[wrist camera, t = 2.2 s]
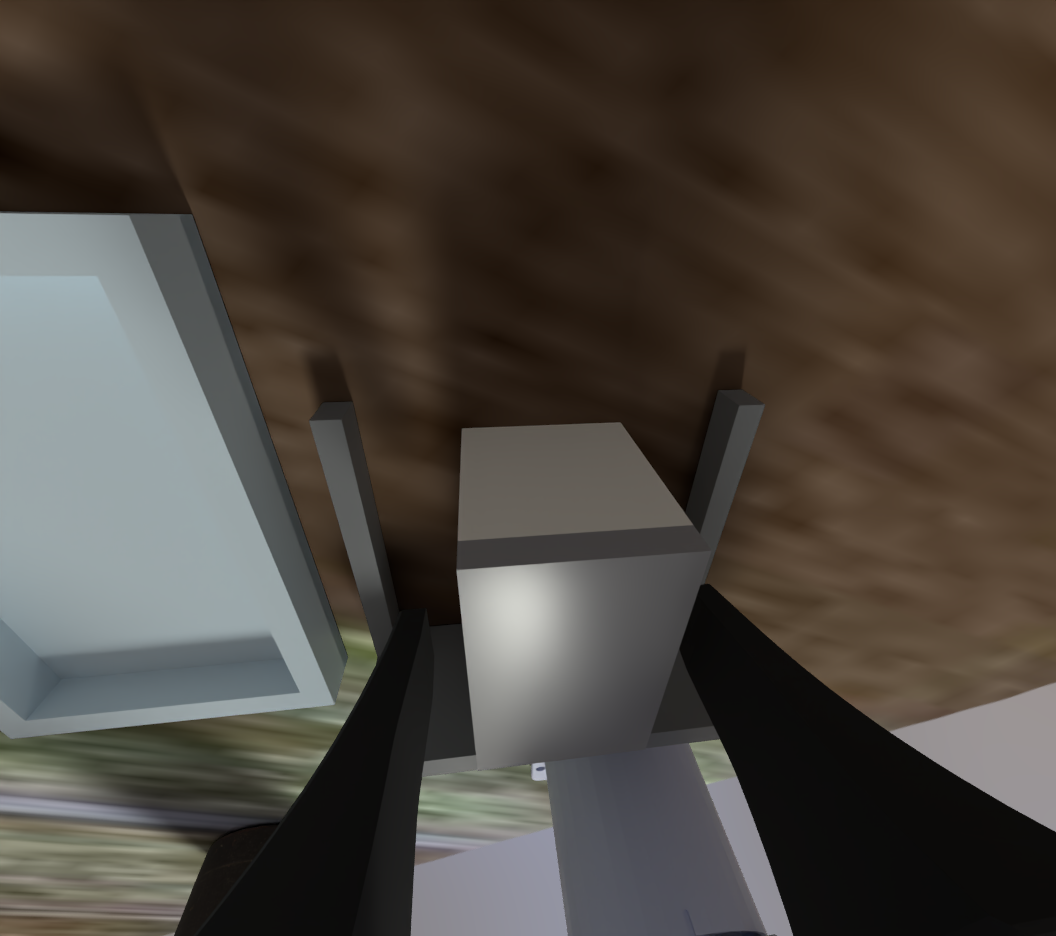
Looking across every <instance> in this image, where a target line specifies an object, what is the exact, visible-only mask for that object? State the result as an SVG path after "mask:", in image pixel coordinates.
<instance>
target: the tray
mask: <svg viewBox="0 0 1056 936" xmlns="http://www.w3.org/2000/svg"><path fill="white" fill-rule="evenodd" d="M347 658H348V656H347V653H346V651H345V648H344V645H343V642H342V639H341V636H340V633H339V631H338V628H337V625H336V622H335V619H334V616H333V614H332V611H331V608H330V605H329V602H328V599H327V597H326V594H325V591H324V588H323V585H322V582H321V579H320V577H319V574H318V571H317V568H316V565H315V562H314V560H313V557H312V554H311V551H310V548H309V545H308V543H307V540H306V537H305V534H304V531H303V528H302V525H301V523H300V520H299V517H298V514H297V511H296V508H295V506H294V503H293V500H292V497H291V494H290V491H289V488H288V486H287V483H286V480H285V477H284V474H283V471H282V469H281V466H280V463H279V460H278V457H277V454H276V452H275V449H274V446H273V443H272V440H271V437H270V434H269V432H268V429H267V426H266V423H265V420H264V417H263V415H262V412H261V409H260V406H259V403H258V400H257V398H256V395H255V392H254V389H253V386H252V383H251V380H250V378H249V375H248V372H247V369H246V366H245V363H244V361H243V358H242V355H241V352H240V349H239V346H238V343H237V341H236V338H235V335H234V332H233V329H232V326H231V324H230V321H229V318H228V315H227V312H226V309H225V307H224V304H223V301H222V298H221V295H220V292H219V289H218V287H217V284H216V281H215V278H214V275H213V272H212V270H211V267H210V264H209V261H208V258H207V255H206V253H205V250H204V247H203V244H202V241H201V238H200V235H199V233H198V230H197V227H196V224H195V221H194V218H193V216H192V214H141V213H75V212H10V211H0V731H1V732H3V733H4V734H5V735H7V736H8V737H9V738H10V739H16V738H25V737H35V736H44V735H54V734H63V733H72V732H82V731H91V730H101V729H110V728H120V727H129V726H138V725H148V724H157V723H167V722H176V721H186V720H195V719H204V718H214V717H223V716H233V715H242V714H252V713H261V712H270V711H280V710H289V709H299V708H308V707H318V706H327V705H335V702H336V698H337V695H338V691H339V688H340V684H341V680H342V677H343V673H344V669H345V666H346V662H347Z"/></svg>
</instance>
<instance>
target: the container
mask: <svg viewBox="0 0 1056 936" xmlns="http://www.w3.org/2000/svg"><path fill="white" fill-rule="evenodd" d="M277 827H278V825H269V826H259V827H252V828H247V829H243V830H239V831H236V832H233V833H231V834H228V835H226V836H224V837H222V838H220V839H218V840H217V841H216V842H215V843H214V844H213V845H212V846H211V847H210V849H209V851H208V853H207V855H206V858H205V860H204V862H203V865H202V867H201V869H200V872H199V874H198V877H197V879H196V882H195V884H194V886H193V889H192V892H191V894H190V897H189V899H188V902H187V904H186V907H185V910H184V912H183V915H182V917H181V920H180V922H179V925H178V927H177V930H176V932H175V935H174V936H193V935H194V934H195V933H196V932H197V931H198V929H199V928H200V927H201V926H202V924H203V923H204V922H205V921H206V919H207V918H208V917H209V916H210V914H211V913H212V912H213V911H214V909H215V908H216V907H217V906H218V904H219V903H220V902H221V900H222V899H223V898H224V897H225V895H226V894H227V893H228V891H229V890H230V889H231V887H232V886H233V885H234V884H235V882H236V881H237V880H238V878H239V877H240V876H241V875H242V873H243V872H244V871H245V869H246V868H247V867H248V865H249V864H250V863H251V862H252V860H253V859H254V858H255V856H256V855H257V854H258V853H259V851H260V850H261V848H262V847H263V846H264V844H265V843H266V842H267V840H268V839H269V838H270V836H271V835H272V833H273V832H274V831H275V829H276V828H277Z"/></svg>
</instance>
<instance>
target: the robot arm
mask: <svg viewBox="0 0 1056 936" xmlns="http://www.w3.org/2000/svg"><path fill="white" fill-rule="evenodd" d="M679 650H680V653H681V656H682V658H683V661H684V664H685V667H686V669H687V672H688V674H689V676H690V678H691V680H692V682H693V684H694V686H695V688H696V691H697V693H698V695H699V697H700V699H701V701H702V703H703V705H704V707H705V709H706V711H707V713H708V715H709V717H710V719H711V722H712V724H713V726H714V728H715V730H716V732H717V734H718V736H719V738H720V740H721V742H722V744H723V746H724V748H725V750H726V752H727V754H728V757H729V759H730V761H731V763H732V766H733V768H734V770H735V772H736V775H737V777H738V780H739V782H740V785H741V788H742V790H743V793H744V795H745V798H746V800H747V803H748V806H749V808H750V811H751V814H752V816H753V818H754V821H755V824H756V827H757V830H758V833H759V835H760V838H761V841H762V844H763V846H764V849H765V852H766V855H767V857H768V860H769V863H770V866H771V869H772V872H773V875H774V878H775V881H776V884H777V887H778V890H779V893H780V896H781V899H782V902H783V905H784V908H785V911H786V914H787V917H788V920H789V923H790V926H791V930H792V933H793V936H1056V832H1055V831H1053V830H1051V829H1049V828H1047V827H1045V826H1044V825H1041V824H1040V823H1038V822H1036V821H1034V820H1033V819H1031V818H1029V817H1027V816H1025V815H1023V814H1022V813H1020V812H1018V811H1016V810H1014V809H1012V808H1011V807H1009V806H1007V805H1005V804H1004V803H1002V802H1000V801H999V800H997V799H995V798H994V797H992V796H990V795H988V794H987V793H985V792H983V791H982V790H980V789H978V788H977V787H975V786H973V785H971V784H970V783H968V782H966V781H965V780H963V779H961V778H960V777H958V776H956V775H955V774H953V773H952V772H950V771H948V770H947V769H945V768H944V767H942V766H940V765H939V764H937V763H936V762H934V761H932V760H931V759H929V758H928V757H926V756H925V755H923V754H922V753H920V752H919V751H917V750H916V749H914V748H913V747H911V746H909V745H908V744H907V743H905V742H903V741H902V740H900V739H899V738H897V737H896V736H894V735H893V734H891V733H890V732H889V731H887V730H886V729H884V728H883V727H881V726H880V725H878V724H877V723H875V722H874V721H873V720H871V719H870V718H869V717H867V716H866V715H864V714H863V713H862V712H860V711H859V710H858V709H856V708H855V707H853V706H852V705H851V704H849V703H848V702H847V701H845V700H844V699H842V698H841V697H840V696H839V695H837V694H836V693H835V692H833V691H832V690H831V689H829V688H828V687H827V686H826V685H824V684H823V683H822V682H821V681H819V680H818V679H817V678H816V677H814V676H813V675H812V674H811V673H809V672H808V671H807V670H806V669H804V668H803V667H802V666H801V665H800V664H798V663H797V662H796V661H795V660H794V659H792V658H791V657H790V656H789V655H788V654H787V653H785V652H784V651H783V650H782V649H781V648H780V647H778V646H777V645H776V644H775V643H774V642H773V641H772V640H770V639H769V638H768V637H767V636H766V635H765V634H764V633H763V632H761V631H760V630H759V629H758V628H757V627H756V626H755V625H754V624H753V623H751V622H750V621H749V620H748V619H747V618H746V617H745V616H744V615H743V614H742V613H740V612H739V611H738V610H737V609H736V608H735V607H734V606H733V605H732V604H731V603H730V602H729V601H727V600H726V599H725V598H724V597H723V596H722V595H721V594H720V593H719V592H718V591H717V590H715V589H714V588H713V587H712V586H711V585H710V584H703V585H700V587H699V590H698V593H697V596H696V599H695V602H694V605H693V608H692V611H691V614H690V617H689V620H688V623H687V626H686V629H685V632H684V635H683V638H682V641H681V644H680V647H679ZM433 681H434V650H433V645H432V639H431V633H430V627H429V621H428V616H427V610H426V608H421V609H409V610H402V611H401V612H400V613H398V616H397V619H396V622H395V624H394V627H393V629H392V631H391V634H390V636H389V638H388V641H387V643H386V645H385V647H384V650H383V652H382V654H381V656H380V658H379V660H378V662H377V664H376V666H375V668H374V670H373V672H372V674H371V676H370V678H369V680H368V682H367V684H366V686H365V688H364V690H363V692H362V694H361V695H360V697H359V699H358V701H357V703H356V704H355V706H354V708H353V710H352V711H351V713H350V715H349V717H348V718H347V720H346V722H345V724H344V725H343V727H342V729H341V731H340V732H339V734H338V736H337V737H336V739H335V741H334V742H333V744H332V746H331V747H330V749H329V751H328V752H327V754H326V755H325V757H324V759H323V760H322V762H321V763H320V765H319V766H318V768H317V769H316V771H315V772H314V774H313V776H312V777H311V779H310V780H309V782H308V783H307V785H306V786H305V788H304V789H303V791H302V792H301V794H300V795H299V796H298V798H297V799H296V801H295V802H294V804H293V805H292V806H291V808H290V809H289V811H288V812H287V814H286V815H285V817H284V818H283V819H282V821H281V822H280V824H279V825H278V827H277V828H276V829H275V831H274V832H273V833H272V835H271V836H270V838H269V839H268V840H267V842H266V843H265V844H264V846H263V847H262V848H261V850H260V851H259V853H258V854H257V855H256V856H255V858H254V859H253V860H252V862H251V863H250V864H249V865H248V867H247V868H246V869H245V871H244V872H243V873H242V875H241V876H240V877H239V878H238V880H237V881H236V882H235V884H234V885H233V886H232V887H231V889H230V890H229V891H228V893H227V894H226V895H225V897H224V898H223V899H222V900H221V902H220V903H219V904H218V906H217V907H216V908H215V909H214V911H213V912H212V913H211V914H210V916H209V917H208V918H207V919H206V921H205V922H204V923H203V924H202V926H201V927H200V928H199V929H198V931H197V932H196V933H195V934H194V935H193V936H410V935H411V915H412V896H413V875H414V859H415V843H416V826H417V813H418V804H419V794H420V787H421V780H422V773H423V765H424V758H425V751H426V744H427V736H428V729H429V722H430V714H431V707H432V699H433ZM531 777H532V779H533V780H536V781H539V780H547V783H548V791H549V798H550V806H551V813H552V821H553V828H554V835H555V843H556V850H557V857H558V864H559V873H560V879H561V887H562V895H563V902H564V909H565V917H566V925H567V932H568V936H768V935H767V933H766V930H765V928H764V925H763V923H762V921H761V918H760V916H759V913H758V911H757V908H756V906H755V903H754V901H753V898H752V896H751V894H750V891H749V889H748V886H747V884H746V882H745V879H744V877H743V874H742V872H741V869H740V867H739V865H738V862H737V860H736V857H735V855H734V852H733V850H732V847H731V845H730V843H729V840H728V837H727V835H726V833H725V830H724V828H723V826H722V823H721V820H720V818H719V816H718V813H717V811H716V808H715V806H714V803H713V801H712V799H711V796H710V794H709V791H708V789H707V786H706V784H705V781H704V779H703V776H702V774H701V772H700V769H699V767H698V764H697V762H696V759H695V757H694V755H693V752H692V750H691V747H690V745H689V743H685V744H677V745H669V746H661V747H653V748H646V749H644V750H637V751H629V752H621V753H613V754H605V755H598V756H590V757H582V758H574V759H566V760H558V761H551V762H543V763H535V764H531ZM769 936H777V935H769Z"/></svg>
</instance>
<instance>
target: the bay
mask: <svg viewBox="0 0 1056 936" xmlns="http://www.w3.org/2000/svg"><path fill="white" fill-rule="evenodd" d="M764 407H765V404H763V403H762V402H760V401H759V400H757V399H756V398H754V397H753V396H751V395H750V394H748V393H747V392H745V391H744V390H718V393H717V397H716V401H715V404H714V408H713V412H712V415H711V419H710V423H709V426H708V430H707V434H706V438H705V441H704V445H703V449H702V452H701V456H700V460H699V463H698V467H697V471H696V474H695V478H694V482H693V486H692V489H691V493H690V497H689V500H688V504H687V508H686V511H685V514H686V515H687V517H688V518H689V520H690V521H691V522H692V524H693V525H694V527H695V528H696V530H697V531H698V532H699V534H700V535H701V537H702V538H703V539H704V541H705V542H706V544H707V545H708V546H709V548H710V549H711V554H710V557H709V560H708V563H707V566H706V569H705V572H704V575H703V578H702V581H701V584H700V585H703V584H704V583H705V580H706V577H707V574H708V571H709V568H710V566H711V563H712V560H713V557H714V554H715V551H716V548H717V545H718V542H719V539H720V536H721V533H722V530H723V527H724V524H725V521H726V518H727V516H728V513H729V510H730V507H731V504H732V501H733V498H734V495H735V492H736V489H737V486H738V483H739V480H740V477H741V474H742V471H743V468H744V466H745V463H746V460H747V457H748V454H749V451H750V448H751V445H752V442H753V439H754V436H755V433H756V430H757V427H758V424H759V421H760V418H761V416H762V413H763V410H764ZM309 422H310V426H311V429H312V433H313V436H314V439H315V443H316V446H317V450H318V453H319V457H320V460H321V464H322V467H323V470H324V474H325V477H326V481H327V484H328V488H329V491H330V495H331V498H332V502H333V505H334V508H335V512H336V515H337V519H338V522H339V526H340V529H341V533H342V536H343V540H344V543H345V546H346V550H347V553H348V557H349V560H350V564H351V567H352V571H353V574H354V578H355V581H356V584H357V588H358V591H359V595H360V598H361V602H362V605H363V609H364V612H365V615H366V619H367V622H368V626H369V629H370V633H371V636H372V640H373V643H374V647H375V650H376V653H377V657H378V658H377V662H378V660H379V658H380V656H381V654H382V652H383V650H384V647H385V645H386V643H387V641H388V638H389V636H390V634H391V631H392V629H393V627H394V624H395V622H396V619H397V616H398V613H400V612H399V608H398V603H397V599H396V594H395V590H394V585H393V581H392V576H391V572H390V567H389V563H388V558H387V554H386V549H385V545H384V540H383V536H382V531H381V527H380V522H379V518H378V513H377V509H376V504H375V500H374V496H373V491H372V487H371V482H370V478H369V473H368V469H367V464H366V460H365V455H364V451H363V446H362V442H361V437H360V433H359V428H358V424H357V419H356V415H355V410H354V406H353V402H324V403H322V405H321V406H320V407H319V409H318V410H317V411H316V412H315V414H314V415H313V416H312V418H311V419H310V420H309ZM430 633H431V639H432V645H433V650H434V681H433V699H432V707H431V714H430V722H429V729H428V736H427V744H426V751H425V758H424V765H423V773H422V777H425V776H432V775H440V774H448V773H456V772H464V771H472V770H478V769H477V759H476V750H475V740H474V731H473V721H472V712H471V703H470V693H469V684H468V674H467V665H466V655H465V646H464V636H463V627H462V624H453V625H442V626H431V627H430ZM376 664H377V663H376ZM717 739H720V738H719V736H718V734H717V732H716V730H715V728H714V726H713V724H712V722H711V719H710V717H709V715H708V713H707V711H706V709H705V707H704V705H703V703H702V701H701V699H700V697H699V695H698V693H697V691H696V688H695V686H694V684H693V682H692V680H691V678H690V676H689V674H688V672H687V669H686V667H685V664H684V661H683V658H682V656H681V653H680V650H678V653H677V656H676V659H675V662H674V665H673V668H672V671H671V674H670V677H669V680H668V683H667V686H666V689H665V692H664V695H663V698H662V701H661V704H660V707H659V710H658V713H657V716H656V719H655V722H654V725H653V728H652V731H651V734H650V737H649V740H648V743H647V746H646V748H653V747H661V746H669V745H677V744H685V743H693V742H701V741H709V740H717Z"/></svg>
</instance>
